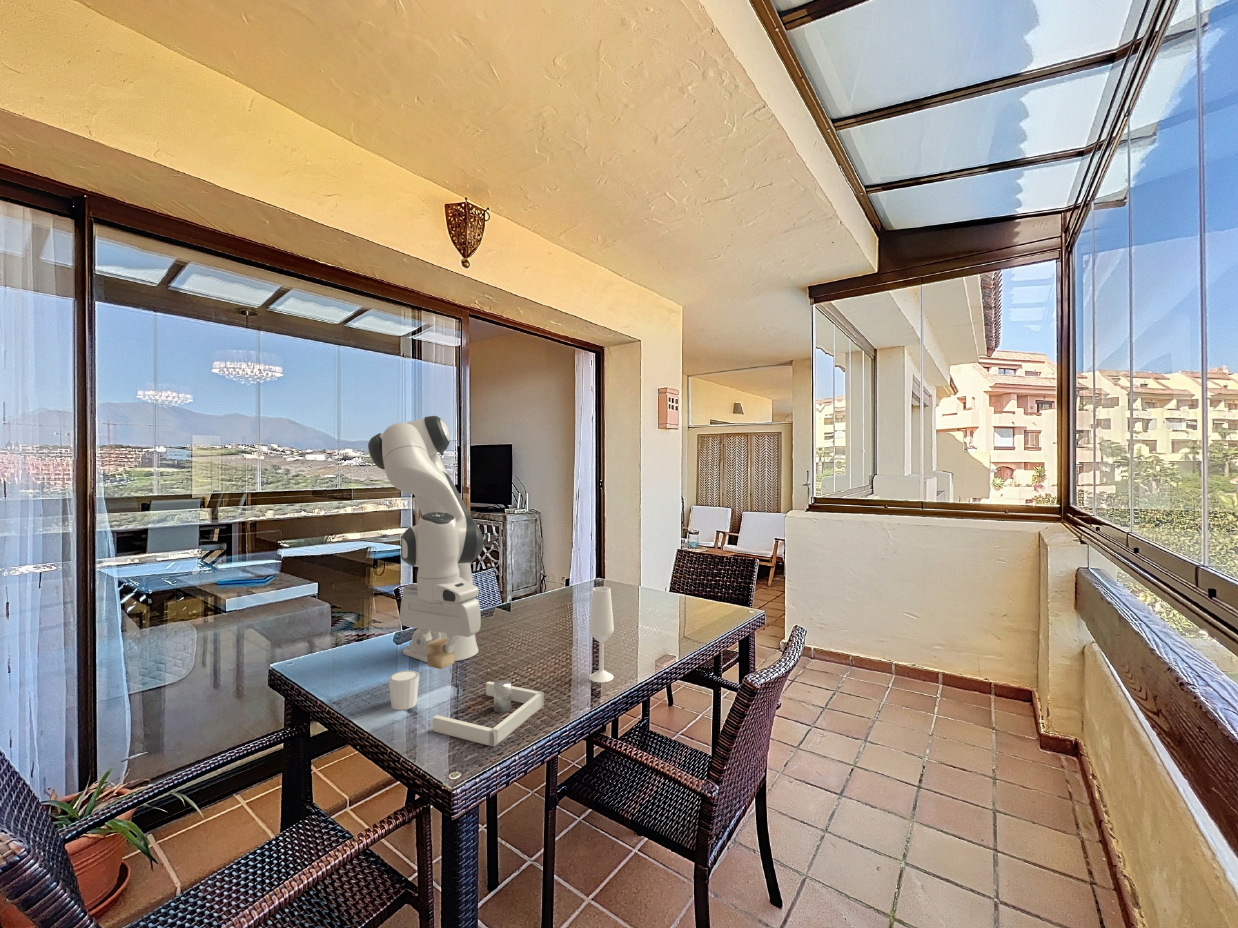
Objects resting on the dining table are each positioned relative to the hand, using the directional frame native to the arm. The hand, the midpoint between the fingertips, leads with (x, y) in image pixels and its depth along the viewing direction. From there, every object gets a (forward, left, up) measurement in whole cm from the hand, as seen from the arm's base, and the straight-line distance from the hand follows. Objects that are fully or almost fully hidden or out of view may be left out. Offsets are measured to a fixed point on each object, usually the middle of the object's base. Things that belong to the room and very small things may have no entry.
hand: (439, 650), depth 117 cm
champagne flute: (+22, +38, -17) cm, 47 cm away
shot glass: (-15, +5, -17) cm, 24 cm away
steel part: (+7, +13, -17) cm, 23 cm away
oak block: (0, 0, -3) cm, 3 cm away
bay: (+8, +8, -17) cm, 20 cm away
